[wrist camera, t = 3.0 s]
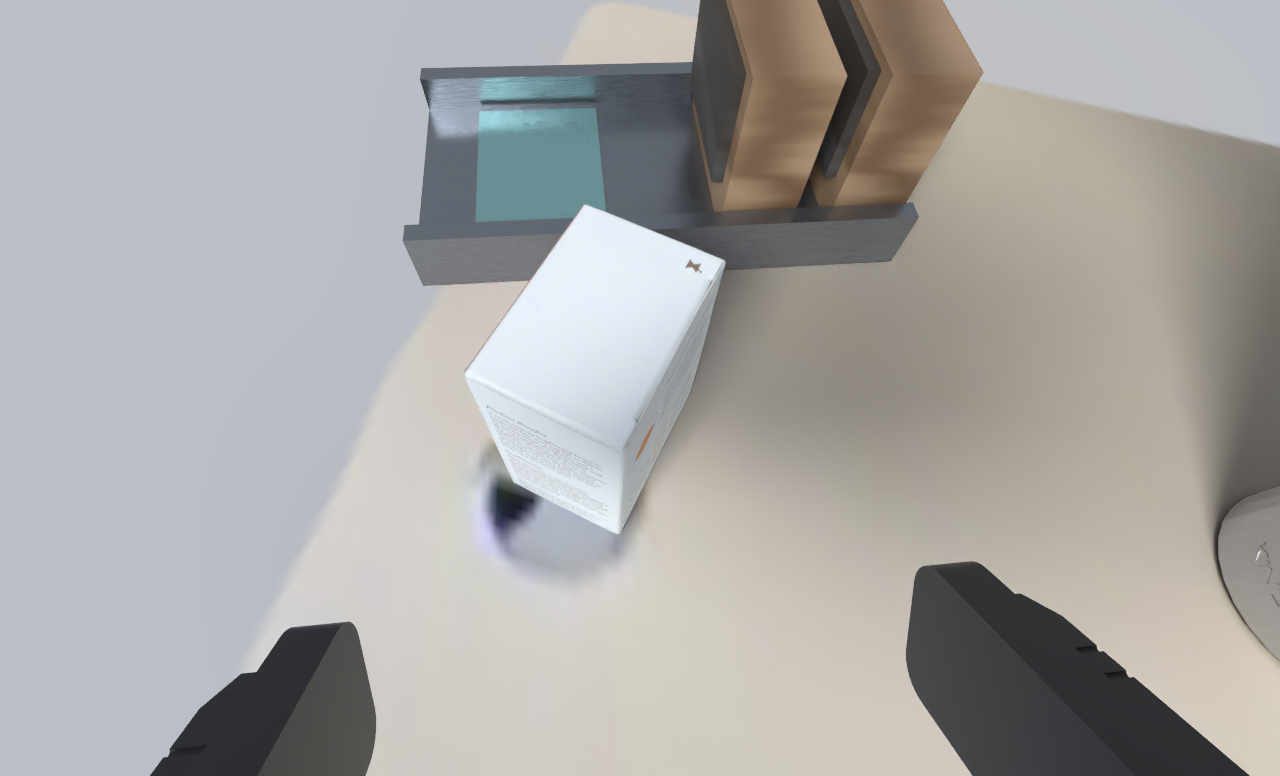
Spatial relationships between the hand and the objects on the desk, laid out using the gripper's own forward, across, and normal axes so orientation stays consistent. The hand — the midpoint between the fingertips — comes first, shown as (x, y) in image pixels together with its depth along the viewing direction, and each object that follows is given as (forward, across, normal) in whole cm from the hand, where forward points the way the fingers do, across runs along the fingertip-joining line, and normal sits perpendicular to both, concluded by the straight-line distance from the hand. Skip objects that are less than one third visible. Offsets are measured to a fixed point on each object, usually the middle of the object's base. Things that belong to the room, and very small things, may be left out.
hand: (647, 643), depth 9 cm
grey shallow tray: (+30, -4, -7) cm, 31 cm away
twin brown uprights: (+29, -12, -8) cm, 33 cm away
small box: (+19, 0, +5) cm, 20 cm away
